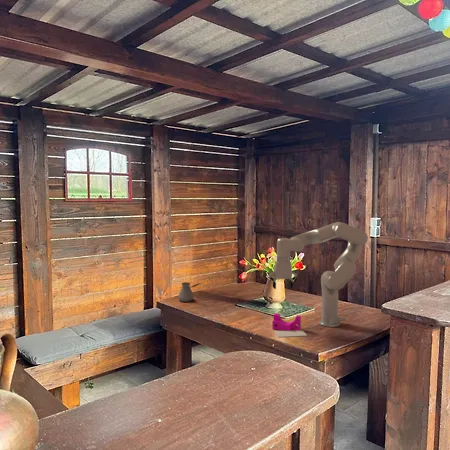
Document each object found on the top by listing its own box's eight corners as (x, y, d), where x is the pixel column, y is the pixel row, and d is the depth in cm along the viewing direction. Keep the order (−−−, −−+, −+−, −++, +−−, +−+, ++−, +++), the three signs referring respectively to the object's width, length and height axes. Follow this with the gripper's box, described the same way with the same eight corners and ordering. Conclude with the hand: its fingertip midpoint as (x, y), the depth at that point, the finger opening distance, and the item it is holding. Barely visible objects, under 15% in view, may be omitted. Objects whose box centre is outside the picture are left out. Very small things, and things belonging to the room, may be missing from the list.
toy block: (272, 328, 228) (272, 315, 228) (275, 326, 234) (275, 313, 234) (298, 331, 223) (298, 318, 223) (300, 328, 229) (300, 315, 229)
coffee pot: (174, 300, 293) (174, 280, 292) (187, 297, 301) (186, 278, 300) (194, 306, 278) (194, 284, 277) (206, 302, 286) (206, 282, 285)
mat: (302, 330, 226) (302, 329, 226) (307, 336, 217) (307, 335, 217) (274, 331, 224) (274, 331, 224) (278, 337, 215) (278, 336, 215)
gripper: (295, 258, 239) (294, 286, 240) (267, 258, 236) (266, 287, 238) (299, 260, 231) (298, 289, 232) (270, 260, 229) (269, 290, 230)
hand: (282, 288), depth 235 cm, fingers open, 9 cm apart
